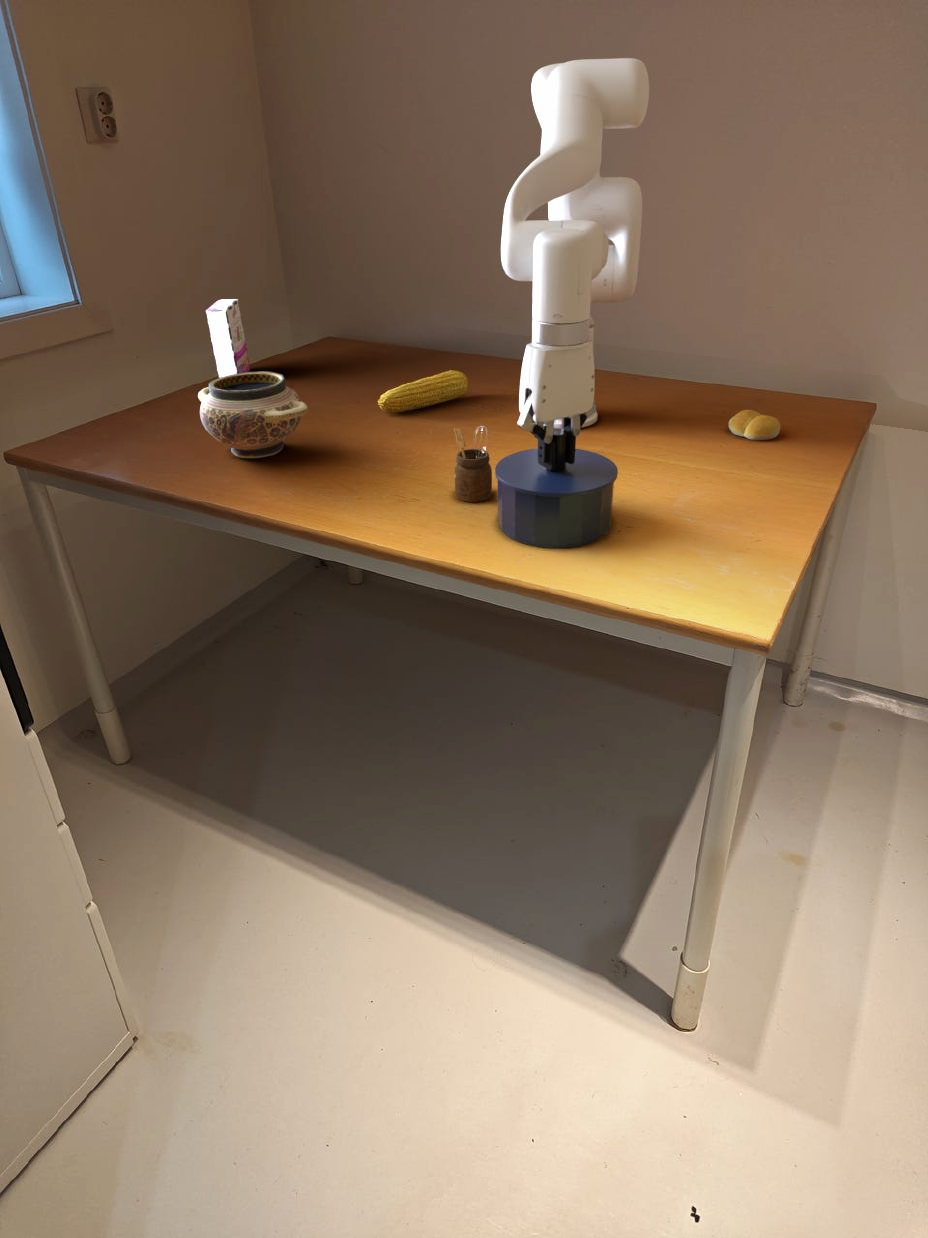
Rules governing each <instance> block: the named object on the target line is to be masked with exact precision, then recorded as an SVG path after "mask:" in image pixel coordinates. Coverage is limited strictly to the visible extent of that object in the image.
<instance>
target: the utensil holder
mask: <svg viewBox="0 0 928 1238" xmlns="http://www.w3.org/2000/svg"><path fill="white" fill-rule="evenodd" d="M483 428H484V429H485V434H487V435H485V439H484V441H486V443H484V445H483V448H482V449H481V445H482V444H481V443H479V444H478V447H479V448H477V444H476V443H477V440H475V438H477V434H478V433H476V432H478V431H479V429H480V430H483ZM453 432H454V435H455V440H456V445H457V446H458V447H459V448H460V451H458V452H457V453H456V458H455V461H456V465H455V466H454V492H455V496H456V498H457V499H458V500H460V501H463V502H467V503H479V502H483V501H486V500H488V499H490V497H491V495H492V492H493V471H492V466H491V464H490V454H489V452H488V451H486V448H487V446H488V443H489V441H487V440H488V437H489V433H490V432H489V431H488V428H487V427H486V426H484V425H479V426H477V427H476V428H475V430H474V435H473V437H472V438H473V439H472V440H474V444H472V445H473V447H474V448H467V449H465V448H466V447H467V445H466V441H465V437H464V434H463V429H459V428H456V427H454V428H453ZM474 436H475V437H474ZM482 436H483V435H482V433H480V436H479V438H480V440H482Z"/></svg>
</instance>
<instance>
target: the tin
mask: <svg viewBox="0 0 928 1238" xmlns="http://www.w3.org/2000/svg"><path fill="white" fill-rule="evenodd" d="M496 480H497V481H496V482H497V487H496V488H497V522H498V526H499V527H498V528H499V529H500V531H501V532H502V533H503V534H504V535H505V536H506V537H508V538H509V539H511V540H513V541H516V542H517V543H521V544H523V545H527V546H532V547H537V548H545V549H563V548H564V549H566V548H574V547H581V546H585V545H588V544H591V543H595V542H596V541H599V540H600V539H602V538H604V537H605V536H606V535H607V534H608V533H609V531H610V530H611V529H610V528H611V522H612V517H613V516H612V513H613V500H614V488H615V482H614V483H612V484H611V485H610V486H608V487H607V488H605V489H602V490H600V491H597V492H594V493H590V494H585V495H579V496H570V497H546V496H537V495H530V494H526V493H522V492H518V491H515V490H513V489H510V488H508V487H506V486H504V485H503V484H501V483H500V482H499V481H498V479H497V478H496Z"/></svg>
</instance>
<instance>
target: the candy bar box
mask: <svg viewBox="0 0 928 1238" xmlns="http://www.w3.org/2000/svg"><path fill="white" fill-rule="evenodd" d="M240 308H241V307H240V302H239V299H238V298H237V299H236V298H231V299H230V298H228V299H218V300H217V301H216V302H214V303H213V304H212V305H211V306H210V307H208V308H207V309H206V310H205V313H206V318H207V319H206V320H207V324H208V328H209V333H210V338H211V343H212V349H213V354H214V359H215V365H216V370H217V374H218V378H220V377H224V376H228V375H233V374H238V373H246V372H250V370H251V366H250V365H251V364H250V359H249V354H248V348H247V342H246V337H245V330H244V326H243V325H244V324H243V319H242V314H241V309H240Z"/></svg>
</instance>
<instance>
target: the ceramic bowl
mask: <svg viewBox="0 0 928 1238" xmlns="http://www.w3.org/2000/svg"><path fill="white" fill-rule="evenodd" d="M197 397H198V400H199V401H200V402H201V404H200V407H199V416H200V420H201V424H202V426H203V427H204V429H205V430H206V432H208V434H209V435H210V436H211V437H213V438H214V439H215V440H216V441H218V442H219V443H221V444H223V445H224V446H226V447H229V448H230V452H231V453H232V454H233V455H234V456H236V457H237V458H241V459H261V458H262V459H263V458H266V457H271V456H274V455H276V454H278V453H280V452H281V451H282V450H283V449H284V448H285V444H284V441H285V440H287V439H288V438H289V437H290V436H292V434H293V433H294V432H295V430H296V429H297V427H298V426H299V425H300V422H301V419H302V416H304V415H306V414H307V413H308V411H309V408H308V405H307V404H306V403H305V402H303V401H302V400H301V398H300V396H299V395H298V394H297V392H296V391H295V390H294V389H292V388H291V387H289V386H287V384H286V378H285V376H284V375H283V374H281V373H278V372H273V371H265V370H264V371H249V372H246V373H238V374H233V375H228V376H224V377H220V378H219V377H217V378H215V379H213V380H211V381H210V382H209V383H208V387H204V388H202V389H201V390H200V391H199V392H198V394H197Z"/></svg>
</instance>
